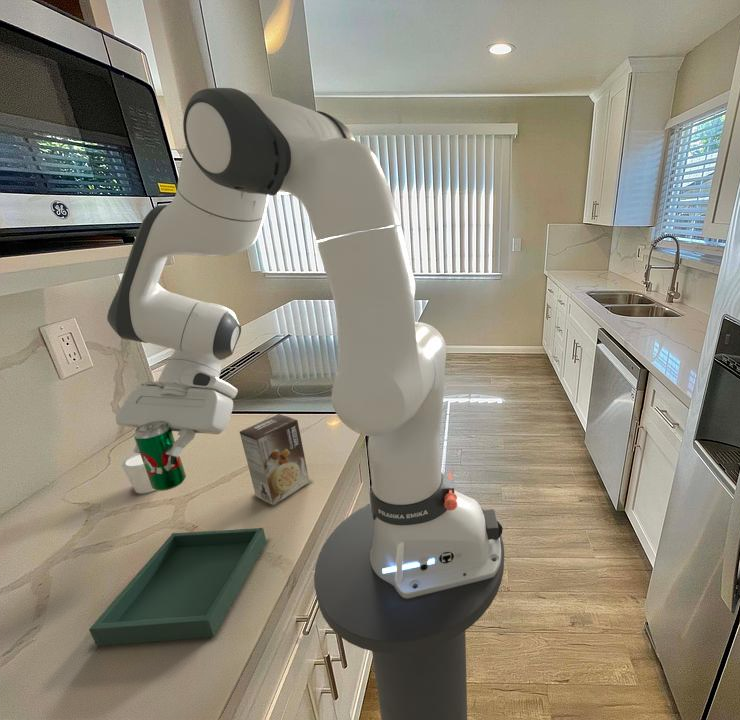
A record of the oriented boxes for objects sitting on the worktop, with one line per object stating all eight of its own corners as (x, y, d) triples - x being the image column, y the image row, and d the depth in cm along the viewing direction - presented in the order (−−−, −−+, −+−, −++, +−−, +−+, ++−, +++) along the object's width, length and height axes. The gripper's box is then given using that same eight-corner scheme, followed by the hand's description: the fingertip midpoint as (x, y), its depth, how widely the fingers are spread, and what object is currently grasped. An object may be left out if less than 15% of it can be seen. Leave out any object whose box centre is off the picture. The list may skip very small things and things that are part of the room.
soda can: (187, 472, 76) (169, 416, 72) (186, 485, 72) (167, 428, 68) (154, 481, 73) (134, 424, 69) (151, 496, 69) (129, 436, 65)
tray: (266, 541, 73) (263, 527, 71) (213, 636, 56) (208, 620, 55) (177, 547, 71) (172, 533, 70) (96, 646, 55) (88, 629, 54)
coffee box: (292, 474, 92) (280, 412, 86) (310, 482, 89) (299, 419, 83) (254, 496, 84) (238, 430, 79) (272, 507, 81) (257, 439, 76)
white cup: (173, 485, 88) (164, 458, 86) (133, 499, 83) (123, 471, 81) (167, 472, 93) (159, 446, 90) (129, 485, 88) (119, 458, 86)
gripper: (126, 373, 74) (88, 446, 69) (223, 378, 71) (192, 455, 66) (155, 386, 80) (122, 454, 74) (246, 391, 77) (219, 462, 71)
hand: (156, 454), depth 70 cm, fingers closed on soda can, 5 cm apart
